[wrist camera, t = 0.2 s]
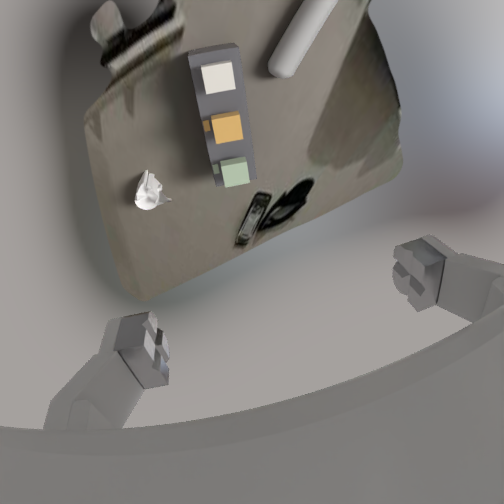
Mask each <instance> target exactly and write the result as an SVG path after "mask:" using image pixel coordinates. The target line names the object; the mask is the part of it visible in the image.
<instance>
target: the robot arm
mask: <svg viewBox="0 0 504 504" xmlns="http://www.w3.org/2000/svg"><path fill="white" fill-rule="evenodd" d="M394 258H395V260H396V261H397V262H396V264H395V265H394V267H393V280H394V284H395V286H396V288H397V289H398V291H399V292H400V293H402V294H405V295H408V302H409V303H410V304H411V305H412V306H413V307H414V308H415V310H416V311H417V312H419V311H422V310H424V309H427V308H429V307H431V306H434V305H437V306H439V307H441V308H443V309H445V310H447V311H449V312H451V313H454V314H456V315H458V316H460V317H462V318H464V319H466V320H468V321H470V322H472V324H470V325H469V326H467V327H465V328H463V329H462V330H460V331H458V332H456V333H454V334H452V335H450V336H449V337H446V338H444V339H442V340H441V341H439V342H436V343H434V344H432V345H430V346H429V347H426V348H424V349H422V350H420V351H418V352H416V353H414V354H411V355H409V356H407V357H405V358H402V359H400V360H398V361H396V362H393V363H391V364H389V365H386V366H384V367H381V368H379V369H376V370H374V371H371V372H369V373H366V374H364V375H361V376H358V377H356V378H353V379H350V380H348V381H345V382H342V383H339V384H336V385H333V386H330V387H327V388H324V389H321V390H318V391H315V392H312V393H308V394H305V395H302V396H298V397H295V398H292V399H288V400H284V401H281V402H277V403H273V404H269V405H265V406H261V407H257V408H253V409H249V410H244V411H240V412H235V413H231V414H226V415H221V416H215V417H210V418H204V419H199V420H192V421H186V422H179V423H172V424H164V425H156V426H146V427H136V428H124V429H122V427H123V425H124V423H125V422H126V420H127V419H128V417H129V415H130V414H131V412H132V410H133V409H134V407H135V406H136V404H137V402H138V400H139V399H140V397H141V396H142V394H143V392H144V389H149V388H154V387H160V386H165V385H168V382H169V368H168V366H167V365H166V362H167V361H168V360H169V353H170V352H169V346H168V342H167V339H166V336H165V334H164V332H163V331H162V330H160V329H159V328H157V324H158V320H157V318H156V316H155V315H154V313H153V312H151V311H149V312H144V313H139V314H134V315H129V316H124V317H119V318H115V319H111V320H109V321H108V323H107V326H106V329H105V332H104V336H103V339H102V342H101V346H100V349H99V353H98V354H96V355H94V356H93V357H92V358H91V359H90V360H89V361H88V362H87V363H86V364H85V365H84V366H83V367H82V368H81V369H80V370H79V371H78V372H77V373H76V374H75V375H74V377H73V378H72V379H71V380H70V381H69V382H68V383H67V384H66V385H65V386H64V387H63V388H62V389H61V390H60V391H59V392H58V394H57V395H56V396H55V397H54V398H53V399H52V400H51V402H50V405H49V409H48V412H47V416H46V419H45V423H44V427H43V430H41V429H25V428H14V427H4V426H0V504H504V264H501V263H497V262H494V261H490V260H486V259H482V258H478V257H475V256H471V255H467V254H463V253H461V254H458V253H456V252H455V251H454V250H452V249H451V248H450V247H448V246H447V245H445V244H444V243H443V242H441V241H440V240H439V239H437V238H436V237H435V236H433V235H426V236H424V237H421V238H419V239H416V240H413V241H410V242H407V243H404V244H401V245H398V246H396V247H395V249H394Z"/></svg>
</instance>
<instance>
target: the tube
mask: <svg viewBox="0 0 504 504" xmlns="http://www.w3.org/2000/svg"><path fill="white" fill-rule="evenodd" d="M337 2H338V0H304V1H303V2H302V4H301V6H300V7H299V9H298V11H297V12H296V14H295V16H294V17H293V19H292V21H291V22H290V24H289V26H288V27H287V29H286V31H285V33H284V34H283V36H282V38H281V40H280V41H279V43H278V45H277V47H276V48H275V50H274V52H273V54H272V56H271V57H270V59H269V61H268V70H269V72H270V73H271V74H272V75H274V76H275V77H278V78H289V77H291V76H293V74H294V73H295V71H296V69H297V67H298V66H299V64H300V62H301V61H302V59H303V57H304V55H305V54H306V52H307V50H308V49H309V47H310V45H311V44H312V42H313V40H314V39H315V37H316V35H317V34H318V32H319V30H320V29H321V27H322V26H323V24H324V22H325V21H326V19H327V18H328V16H329V14H330V13H331V11H332V10H333V8H334V6H335V5H336V3H337Z"/></svg>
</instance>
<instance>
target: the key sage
mask: <svg viewBox="0 0 504 504" xmlns="http://www.w3.org/2000/svg"><path fill="white" fill-rule="evenodd" d="M220 163H221V169H222V174H223V179H224V183H225V188H226V187H231V186H236V185H241V184H246V183H250V180H249V174H248V167H247V161H246V158H245V157H239V158H234V159H229V160H224V161H220Z"/></svg>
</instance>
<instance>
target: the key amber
mask: <svg viewBox="0 0 504 504" xmlns="http://www.w3.org/2000/svg"><path fill="white" fill-rule="evenodd" d="M211 120H212V125H213V130H214V135H215V140H216V144H220V143H225V142H230V141H235V140H241V139H243V133H242V127H241V120H240V114H239V112H238V111H233V112H228V113H223V114H217V115H212V116H211Z"/></svg>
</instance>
